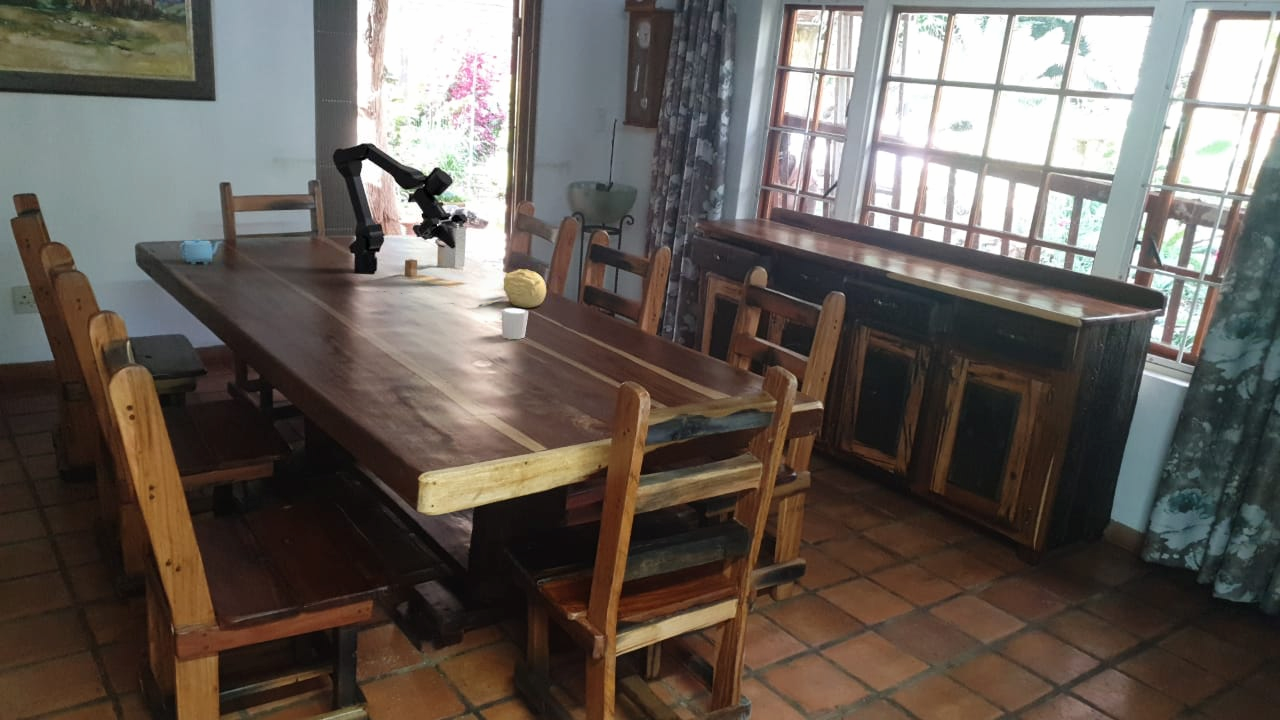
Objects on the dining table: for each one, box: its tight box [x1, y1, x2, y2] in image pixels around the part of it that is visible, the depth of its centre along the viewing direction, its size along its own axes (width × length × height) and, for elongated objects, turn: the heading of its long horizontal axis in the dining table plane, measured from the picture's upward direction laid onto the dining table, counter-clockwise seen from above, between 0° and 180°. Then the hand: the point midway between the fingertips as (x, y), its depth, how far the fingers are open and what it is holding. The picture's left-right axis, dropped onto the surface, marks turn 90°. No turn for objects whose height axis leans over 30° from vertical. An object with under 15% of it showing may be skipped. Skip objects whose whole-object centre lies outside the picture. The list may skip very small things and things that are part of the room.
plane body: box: [396, 258, 468, 289], centre depth 287 cm, size 21×8×6 cm, turn 66°
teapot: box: [179, 238, 222, 265], centre depth 288 cm, size 12×6×8 cm, turn 121°
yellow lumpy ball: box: [503, 268, 547, 309], centre depth 272 cm, size 11×12×11 cm
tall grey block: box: [444, 223, 467, 269], centre depth 281 cm, size 4×5×13 cm
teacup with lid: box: [437, 240, 464, 271], centre depth 312 cm, size 12×9×12 cm
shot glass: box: [500, 307, 529, 340], centre depth 237 cm, size 7×7×7 cm
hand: (458, 246), depth 281 cm, fingers closed on tall grey block, 5 cm apart
